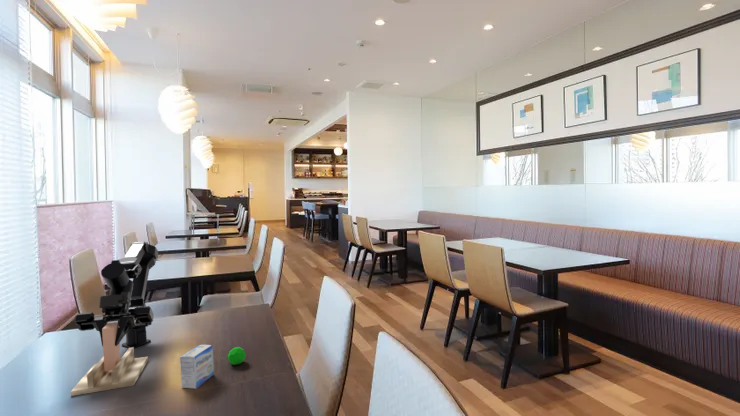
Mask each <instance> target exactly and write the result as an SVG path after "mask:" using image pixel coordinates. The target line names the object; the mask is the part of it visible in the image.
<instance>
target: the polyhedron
mask: <svg viewBox="0 0 740 416" xmlns="http://www.w3.org/2000/svg"><path fill="white" fill-rule="evenodd" d="M227 359H228V363H230V364H231V365H233V366H237V365H240V364H242V363H243V362H244V361H245V359H246V351H245V350H244V349H243V348H242V347H240V346H236V347H233V348H232V349H231V350H229V352H228V354H227Z"/></svg>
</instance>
